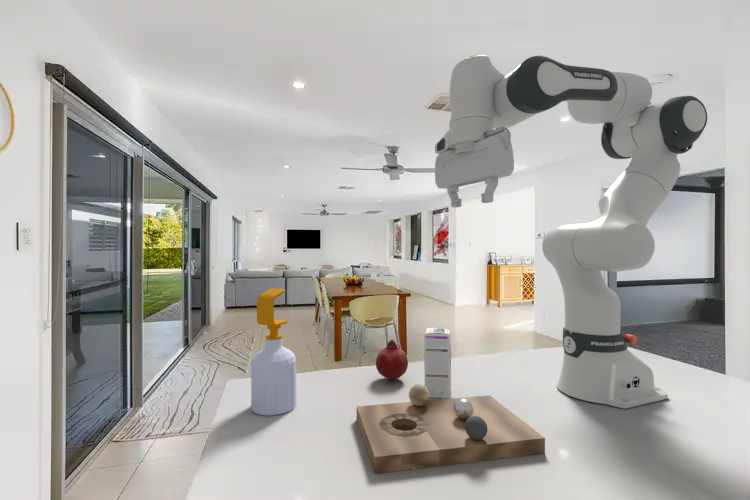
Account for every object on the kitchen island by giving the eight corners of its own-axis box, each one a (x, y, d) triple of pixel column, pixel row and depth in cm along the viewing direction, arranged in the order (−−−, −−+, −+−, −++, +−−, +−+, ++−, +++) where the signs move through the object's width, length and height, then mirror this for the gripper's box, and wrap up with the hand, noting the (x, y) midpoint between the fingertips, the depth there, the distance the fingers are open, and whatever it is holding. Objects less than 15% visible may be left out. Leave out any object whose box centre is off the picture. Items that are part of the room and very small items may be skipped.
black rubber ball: (481, 432, 63) (481, 411, 63) (491, 443, 60) (491, 420, 60) (461, 434, 62) (461, 413, 62) (470, 445, 59) (470, 422, 59)
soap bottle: (304, 402, 81) (304, 288, 81) (276, 420, 73) (276, 292, 73) (271, 395, 85) (271, 286, 85) (241, 411, 77) (241, 290, 77)
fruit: (413, 378, 97) (413, 338, 97) (398, 387, 90) (398, 345, 90) (386, 372, 101) (386, 334, 101) (369, 381, 94) (369, 341, 94)
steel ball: (468, 413, 70) (468, 394, 70) (476, 422, 67) (476, 402, 67) (450, 415, 69) (450, 396, 69) (458, 424, 66) (458, 404, 66)
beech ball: (425, 400, 76) (425, 380, 76) (432, 409, 72) (432, 388, 72) (406, 402, 75) (406, 382, 75) (412, 410, 71) (412, 389, 71)
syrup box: (451, 399, 83) (451, 333, 83) (423, 397, 84) (423, 332, 84) (451, 390, 88) (451, 328, 88) (425, 388, 90) (425, 326, 89)
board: (489, 407, 79) (489, 395, 79) (544, 453, 61) (544, 437, 61) (356, 419, 73) (356, 406, 73) (374, 473, 56) (374, 456, 56)
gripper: (522, 126, 71) (521, 200, 71) (452, 150, 89) (452, 209, 89) (496, 120, 68) (496, 198, 68) (430, 147, 86) (430, 208, 86)
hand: (470, 205), depth 79 cm, fingers open, 8 cm apart
